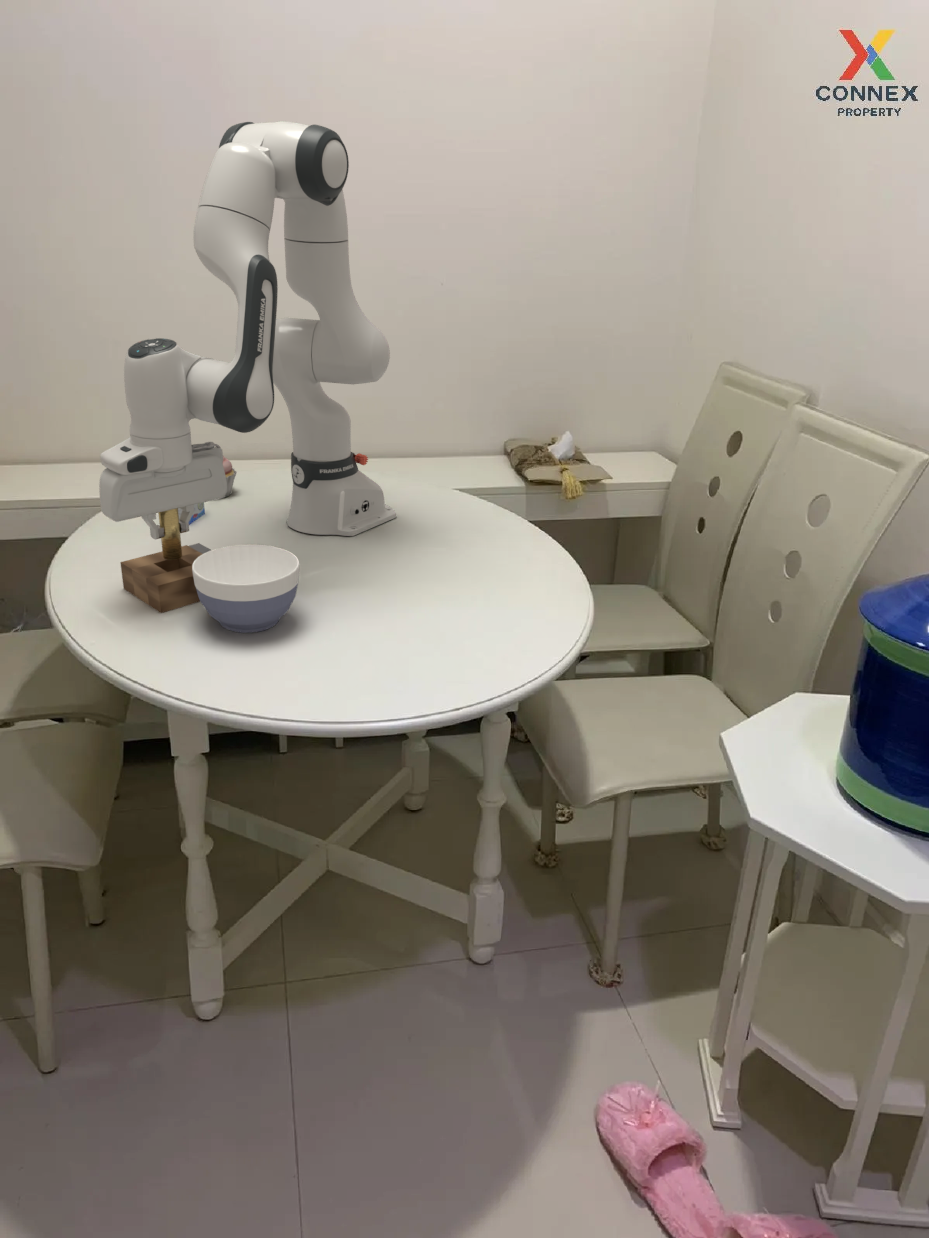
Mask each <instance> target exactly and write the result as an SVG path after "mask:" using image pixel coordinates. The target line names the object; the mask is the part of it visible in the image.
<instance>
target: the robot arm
mask: <svg viewBox="0 0 929 1238" xmlns="http://www.w3.org/2000/svg"><path fill="white" fill-rule="evenodd" d="M348 154H349V153H348V151H347V148H346V146H345V144H344V142H343V140H342V138H341V137H340V134H338V133H337V132H336V131H335V130H333V129H331V128H328V127H326V126H323V125H320V124H311V125H309V124H304V123H300V122H299V123H298V122H293V121H286V120H285V121H284V120H281V121H280V120H279V121H277V122H276V121H270V122H269V121H268V122H267V121H266V122H252V121H245V122H244V121H243V122H240V123H236V124H234V125H231V126H230V127H229V128H227V129H226V131H225V132H224V134H223V135H222V137H221V140H220V142H219V145H218V149H217V150H216V152H215V153H214V156H213V158H212V161H211V163H210V166H209V168H208V170H207V173H206V176H205V179H204V182H203V186H202V190H201V192H200V197H199V202H198V206H197V209H196V215H195V220H194V224H193V225H194V226H193V247H194V250H195V253H196V255H197V257H198V259H199V260H200V262H201V263H202V264H203V266H204V267H205V269H206V270H208V272H210V273H211V274H212V275H213V276H214V277H216V278H217V279H218V280H220V281H221V282H222V283H224V284H225V285H226V286H227V287H228V288H230V289H231V291H232V292H233V294H234V295H235V298H236V301H237V309H238V310H237V311H238V312H237V322H236V335H235V336H236V337H235V349H234V351H235V352H234V357H233V359H232V360H231V361H224V360H219V359H214V358H212V357H207V356H201V355H199V354H196V353H192V352H190V351H188V350H186V349H184V348H182V347H181V346H180V345H179V344H178V342H176V341H175V340H173V339H171V338H169V339H168V338H160V337H159V338H157V337H155V338H152V339H150V338H148V339H143V340H141V341H137V342H136V343H134V344H132V345H131V346H130V347H129V348H128V349H127V351H126V354H125V358H124V367H123V371H124V372H123V377H124V378H123V379H124V382H123V383H124V390H125V391H124V393H125V402H126V403H125V404H126V406H127V409H128V411H129V414H130V425H129V435H130V436H129V437H128V438H126V439H125V440H122V441H121V442H119V443H117V444H116V445H114V446H112V447H109V448H108V449H106V450H104V451H103V452H101V453H100V455H99V457H100V463H101V465H102V466H104V468H105V469H104V470H102V472H101V474H100V477H99V483H98V485H99V488H98V489H99V492H98V493H99V504H100V509H101V512H102V514H103V515H104V516H105V517H106V518H109V519H110V520H112V521H114V522H122V521H126V520H131V519H135V518H141V519H142V520H143V522H145V524H146V525H147V526H148V527H149V533H150V537H151V538H152V539H154V540H159V539H160V540H161V538H163V537H164V528H163V527H161V526H160V524H156V522H155V521H154V520H157V513H159V512H163V511H167V510H172V509H176V508H180V509H182V513H181V516H180V520H179V526H180V534H183V533H187V532H189V531H190V525H189V521H190V519H191V517H192V515H193V512H194V504H198V503H203V502H204V503H206V502H211V501H216V500H219V499H223V498H225V497H224V496H225V495H226V493H227V482H226V476H225V471H224V467H223V464H222V463H223V456H224V455H223V454H224V453H223V449H222V448H221V446H220V445H219V444H217V443H215V442H213V441H206V442H204V443H194V444H192V435H191V427H190V421H191V420H194V419H195V420H196V419H197V420H199V421H201V422H206V423H211V424H214V425H220V426H222V427H225V428H227V429H230V430H232V431H235V432H238V433H244V434H247V433H251V432H253V431H255V430H256V429H258V428H259V427H260V426H262V425H263V424H264V423H265V422H266V421H267V419H268V418H269V417H270V415H271V414H272V411H273V409H274V405H275V387H276V389H278V391H279V393H280V394H281V397H282V398H283V400H284V402H285V403H286V408H287V410H288V413H289V418H290V426H291V437H292V452H291V453H290V454H291V455H290V470H291V471H290V473H291V479H292V491H291V492H292V493H291V502H290V508H289V513H288V516H287V520H286V524H287V526H288V527H289V528H290V529H292V530H294V531H298V532H300V533H305V534H311V535H321V536H322V535H323V536H325V535H326V536H327V535H329V536H330V535H332V536H333V535H335V536H336V535H337V536H343V537H344V536H345V537H354V536H356V535H358V534H361V533H363V532H366V531H368V530H370V529H372V528H375V527H377V526H380V525H381V524H385V523H386V522H389V521H390V520H393V519H396V518H397V512H396V510H395V509H394V508H392V507H391V506H389V505H387V504H385V503H386V502H385V496H384V492H383V491H384V490H383V489H382V487H381V486H380V485H379V484H378V483H377V482H376V481H374V479H372V478H370V477H369V476H367V475H366V474H364V473H363V472H362V471H361V470H359V467H358V464H359V465H362V466H366V465H367V464H368V461H369V457H368V456H367V455H366V454H362V453H360V452H359V453H357V454H355V453H354V452H353V451H351V450H352V443H351V440H352V439H351V437H352V434H351V433H352V431H351V429H352V424H351V417H350V415H349V413H348V411H347V410H346V408H345V407H344V406H343V405H342V404H341V403H339V402H337V401H336V400H334V399H332V398H331V397H329V396H328V394H327V393H326V392H325V391H324V389H323V387H322V384H321V383H328V384H329V383H330V384H344V385H362V384H370V383H376V382H378V381H379V380H380V379H381V378H382V377H383V376H384V374H385V373H386V371H387V369H388V367H389V363H390V358H391V357H390V356H391V355H390V354H391V352H390V346H389V343H388V340H387V338H386V336H385V334H384V333H383V331H382V330H381V329H379V327H377V326H376V325H374V324H373V322H371V321H370V319H369V318H368V317H367V316H366V315H365V313H364V312H363V310H362V309H361V307H360V305H359V304H358V301H357V298H356V296H355V292H354V291H353V287H352V280H351V271H350V255H349V254H350V251H349V227H348V226H349V224H348V215H347V206H346V200H345V194H344V190H343V189H344V187H345V184H346V181H347V178H348V173H349V168H350V165H349V164H350V162H349V155H348ZM275 199H282V200H283V202H284V209H283V210H284V212H283V237H284V256H285V257H284V259H285V260H284V261H285V278H286V281H287V282H286V283H287V284H288V286H289V287H290V289H291V290H292V291H293V292H294V293H295V295H297V296H298V297H300V298H301V299H303V300H305V302H307V303H310V305H311V306H312V307H313V308H314V310H315V311H316V312H317V315H318V317H319V319H308V318H296V317H294V318H293V317H283V318H282V317H281V318H280V317H279V318H277V311H278V310H277V308H278V288H279V287H278V275H277V272H276V268H275V266H274V265H273V263H272V262H271V261H270V255H269V254H270V253H269V240H270V232H271V227H272V222H273V216H274V208H275Z"/></svg>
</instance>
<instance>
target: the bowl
mask: <svg viewBox="0 0 929 1238" xmlns="http://www.w3.org/2000/svg"><path fill="white" fill-rule="evenodd" d="M192 571H193V578H194V584H195V587H196V590H197V593H198V597H199V600H200V603H201V605H202V606H203V607H204V609H205V610H206V612H207V613H208V615H209V616H210V617H212V618H213V619H214V620H215V621H217V622H219V624H220V625H221V627H222V628H224V629H226V630H228V631H231V632H234V633H235V632H236V633H243V634H244V633H247V634H249V633H258V632H262V631H263V632H264V631H266V630H268V629H270V628H273V627H274V626H275V625H277V624H278V622H279V620H280V619H281V618H282V617H283V616H284V615H285V614H287V612H288V611H289V609H291V608H290V607H291V606H292V603H293V602H294V600H295V598H296V595H297V590H298V585H299V584H298V583H299V579H300V561H299V558H298V557H297V556H296V555H295V554H294V553H292V552H291V551H289V550H286V549H284V548H283V547H282V548H281V547H277V546H273V545H268V544H267V545H266V544H248V543H247V544H234V545H227V546H221V547H218V548H215V549H211V551H208V552H206V553H204V554H202V555H200V556H199V557H198V558H197V559H196V560H195V561H194V563H193V565H192Z"/></svg>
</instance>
